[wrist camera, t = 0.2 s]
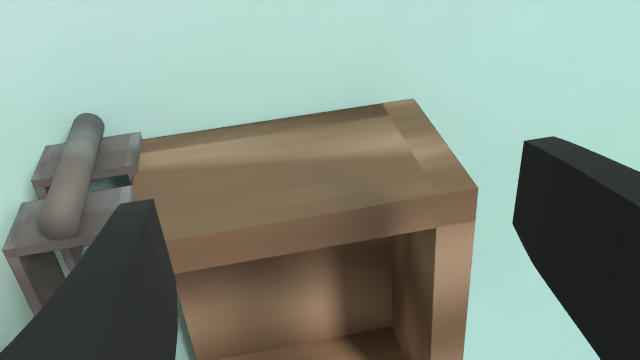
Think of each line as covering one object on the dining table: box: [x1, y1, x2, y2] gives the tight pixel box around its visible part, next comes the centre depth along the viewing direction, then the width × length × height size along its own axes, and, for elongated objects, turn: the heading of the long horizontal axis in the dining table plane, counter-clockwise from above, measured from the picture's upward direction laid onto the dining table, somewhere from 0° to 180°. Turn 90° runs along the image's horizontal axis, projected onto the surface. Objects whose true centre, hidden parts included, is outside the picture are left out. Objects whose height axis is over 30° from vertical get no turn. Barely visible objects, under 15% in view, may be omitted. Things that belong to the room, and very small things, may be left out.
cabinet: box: [2, 99, 478, 360], centre depth 22 cm, size 13×13×6 cm
